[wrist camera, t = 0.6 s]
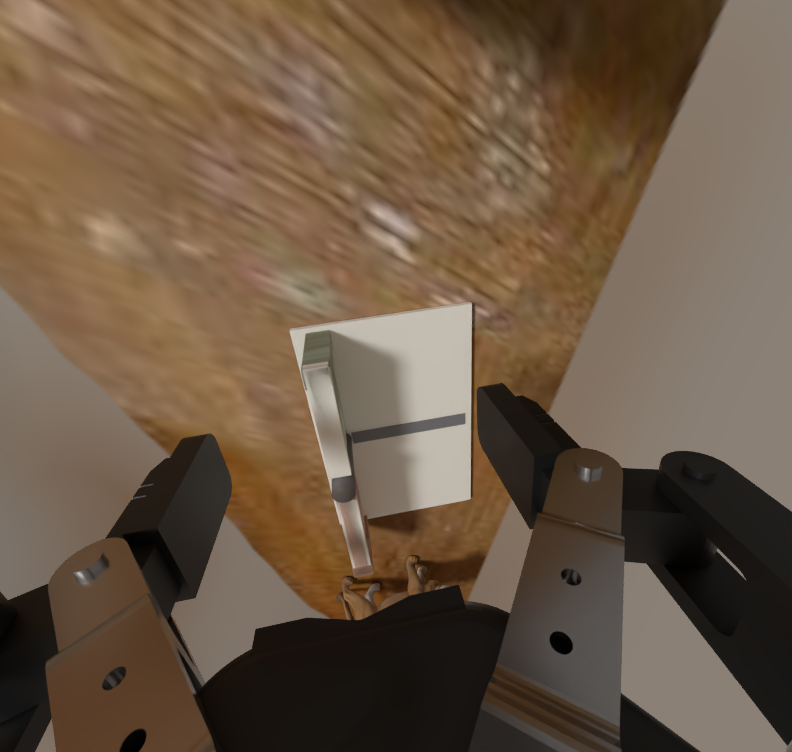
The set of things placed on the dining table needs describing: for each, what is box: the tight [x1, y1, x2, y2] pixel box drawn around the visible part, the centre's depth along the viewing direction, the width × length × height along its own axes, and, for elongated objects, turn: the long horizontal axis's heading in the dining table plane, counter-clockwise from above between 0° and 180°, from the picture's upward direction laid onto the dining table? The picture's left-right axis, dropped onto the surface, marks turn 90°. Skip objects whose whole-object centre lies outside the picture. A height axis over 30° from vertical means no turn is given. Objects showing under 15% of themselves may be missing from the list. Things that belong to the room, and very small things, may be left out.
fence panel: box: [336, 471, 374, 578], centre depth 35 cm, size 10×2×6 cm, turn 5°
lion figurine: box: [336, 556, 450, 620], centre depth 42 cm, size 15×5×9 cm, turn 114°
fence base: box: [301, 330, 356, 503], centre depth 29 cm, size 12×2×6 cm, turn 5°
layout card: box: [290, 302, 472, 524], centre depth 35 cm, size 22×14×1 cm, turn 6°
